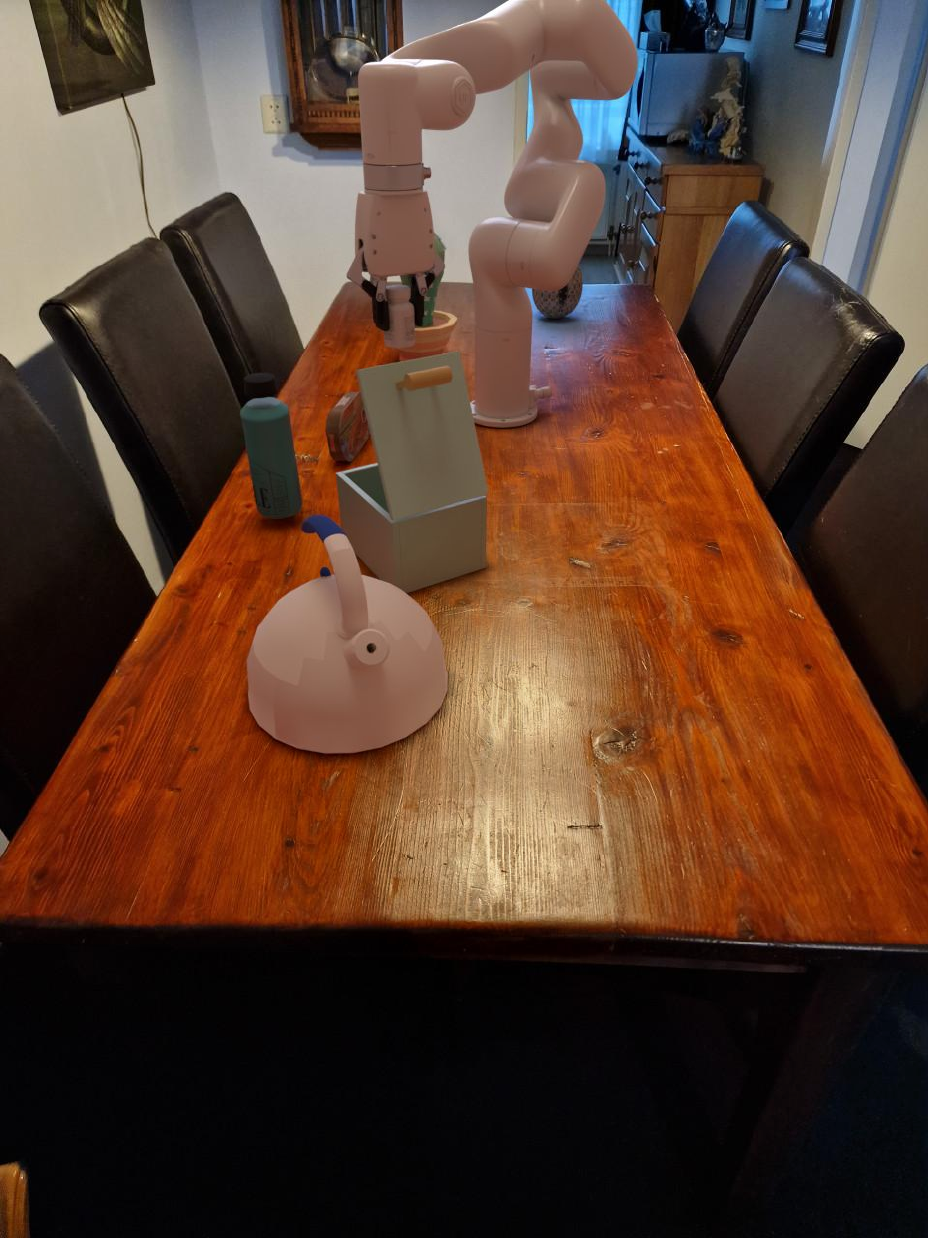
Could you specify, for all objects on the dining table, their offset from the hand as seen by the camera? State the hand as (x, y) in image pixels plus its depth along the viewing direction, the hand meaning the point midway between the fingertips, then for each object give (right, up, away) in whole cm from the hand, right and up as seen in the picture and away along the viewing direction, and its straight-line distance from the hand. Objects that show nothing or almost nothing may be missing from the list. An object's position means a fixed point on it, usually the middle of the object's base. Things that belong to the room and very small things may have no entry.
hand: (399, 324), depth 114 cm
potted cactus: (0, +13, +56) cm, 57 cm away
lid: (+5, -20, -22) cm, 30 cm away
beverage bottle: (-16, -27, -1) cm, 32 cm away
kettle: (-3, -48, -31) cm, 57 cm away
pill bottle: (0, -2, +2) cm, 3 cm away
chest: (+2, -33, -9) cm, 34 cm away
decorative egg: (+31, +30, +80) cm, 91 cm away
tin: (-9, -14, +18) cm, 24 cm away
